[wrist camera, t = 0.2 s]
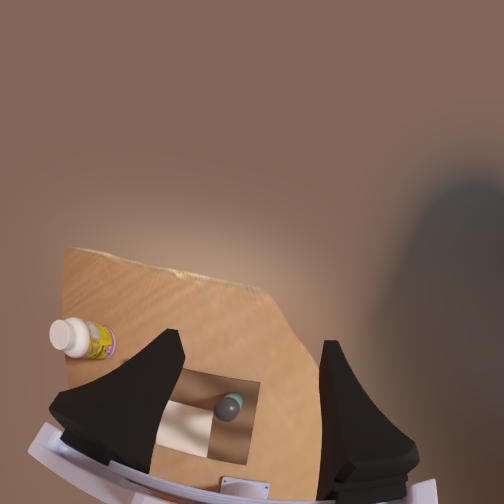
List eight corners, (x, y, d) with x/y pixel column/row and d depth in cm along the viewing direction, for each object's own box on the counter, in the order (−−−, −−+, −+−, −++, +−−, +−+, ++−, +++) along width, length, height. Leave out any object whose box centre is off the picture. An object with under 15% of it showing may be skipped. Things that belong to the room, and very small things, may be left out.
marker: (243, 411, 37) (236, 423, 30) (222, 407, 38) (211, 419, 30) (246, 392, 38) (239, 401, 31) (225, 389, 39) (215, 397, 31)
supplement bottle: (98, 365, 42) (53, 363, 30) (85, 334, 44) (41, 325, 32) (122, 350, 43) (79, 345, 31) (108, 319, 45) (65, 305, 33)
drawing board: (246, 463, 35) (246, 465, 33) (131, 432, 37) (128, 433, 36) (260, 382, 40) (259, 383, 39) (140, 356, 42) (137, 356, 41)
